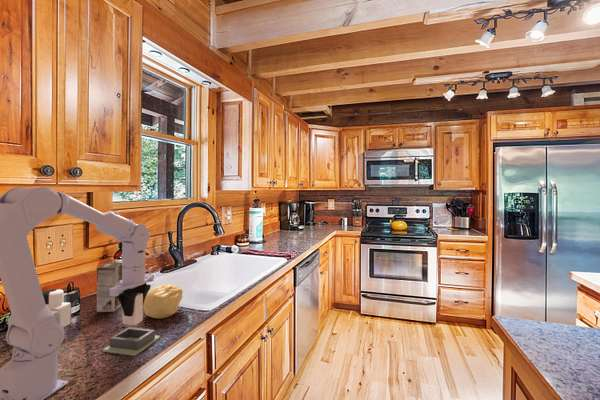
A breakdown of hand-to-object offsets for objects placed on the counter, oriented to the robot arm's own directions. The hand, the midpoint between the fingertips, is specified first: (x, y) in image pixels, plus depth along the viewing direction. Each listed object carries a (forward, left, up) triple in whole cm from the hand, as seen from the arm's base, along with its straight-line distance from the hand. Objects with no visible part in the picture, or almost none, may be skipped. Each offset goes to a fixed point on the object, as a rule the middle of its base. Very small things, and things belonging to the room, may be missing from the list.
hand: (133, 313), depth 83 cm
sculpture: (+20, +5, -9) cm, 23 cm away
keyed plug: (0, +1, -3) cm, 3 cm away
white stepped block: (+3, +32, -9) cm, 33 cm away
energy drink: (-11, +16, -9) cm, 21 cm away
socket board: (0, 0, -9) cm, 9 cm away
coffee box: (+22, +28, -9) cm, 37 cm away
